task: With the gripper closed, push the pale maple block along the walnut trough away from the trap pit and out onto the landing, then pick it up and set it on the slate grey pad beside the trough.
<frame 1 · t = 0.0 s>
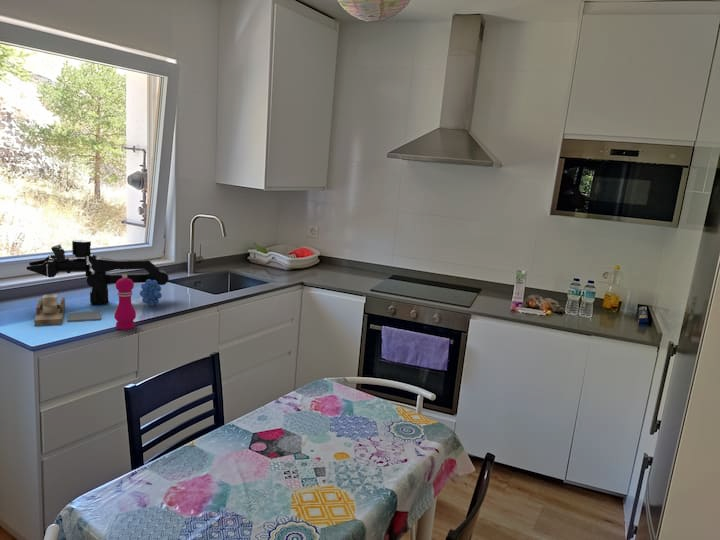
hand: (28, 265, 205), 17 cm above the table, tool horizontal, fingers open, 9 cm apart
pepper mill: (125, 327, 190), on the table
walnut trough: (51, 315, 198), on the table
grapes: (152, 307, 220), on the table
slate pad: (84, 317, 199), on the table
maple block: (50, 311, 196), point 2 cm above the table, touching walnut trough
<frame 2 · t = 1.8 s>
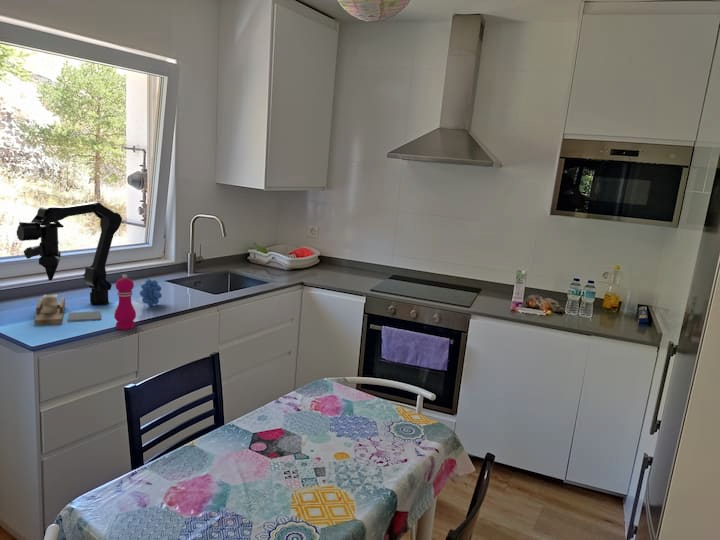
hand: (50, 278, 201), 13 cm above the table, tool pointing down, fingers open, 5 cm apart
nothing on the table moved.
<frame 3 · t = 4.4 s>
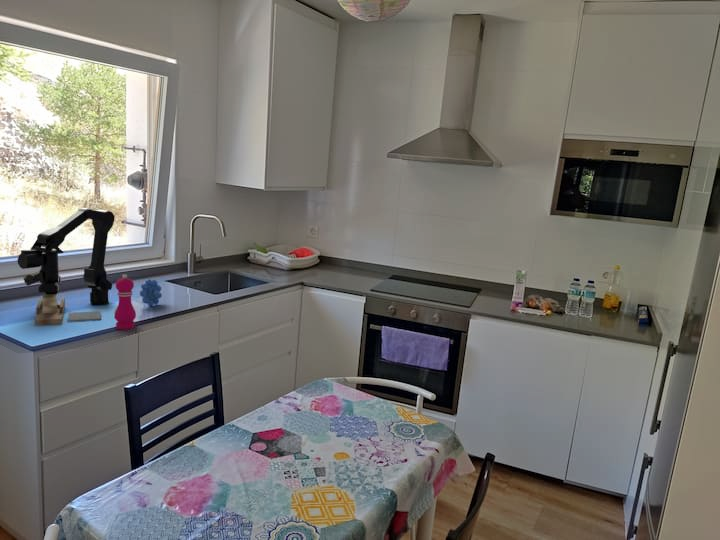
hand: (51, 305, 200), 3 cm above the table, tool pointing down, fingers closed
maple block: (50, 310, 196), point 2 cm above the table, touching gripper, walnut trough
everything else where it was.
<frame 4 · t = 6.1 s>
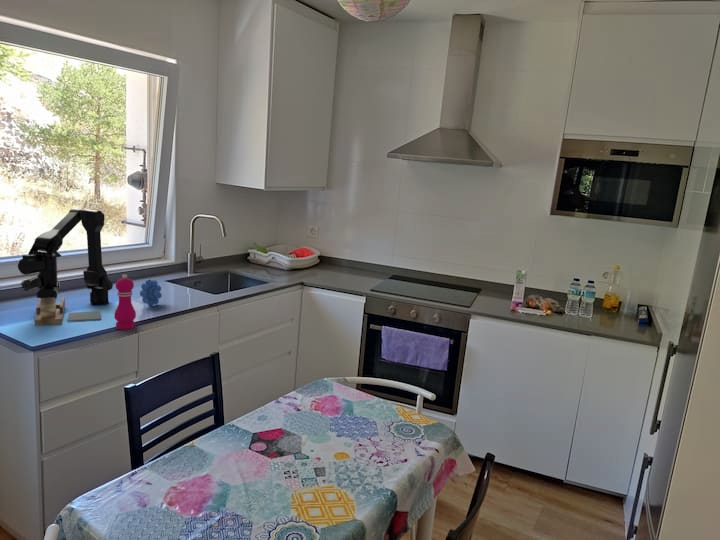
hand: (49, 310, 193), 3 cm above the table, tool pointing down, fingers closed
maple block: (48, 313, 191), point 3 cm above the table, tilted 27°, touching gripper, walnut trough
everything else where it was.
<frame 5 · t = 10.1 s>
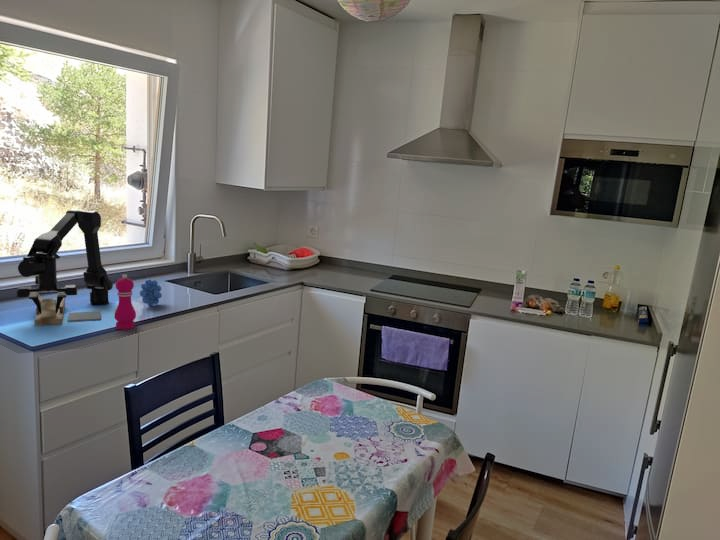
hand: (48, 313, 190), 3 cm above the table, tool pointing down, fingers closed on maple block, 4 cm apart
maple block: (49, 315, 191), point 2 cm above the table, touching gripper, walnut trough
everything else where it was.
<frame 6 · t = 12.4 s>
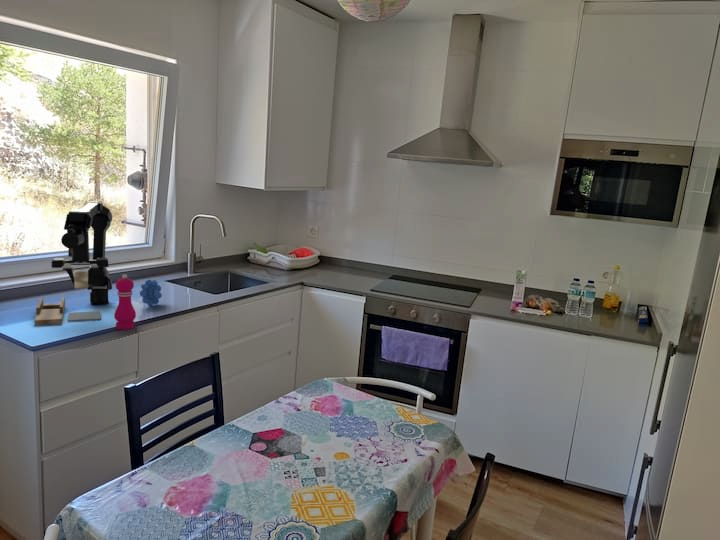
hand: (81, 284, 196), 13 cm above the table, tool pointing down, fingers closed on maple block, 4 cm apart
maple block: (81, 286, 197), point 12 cm above the table, touching gripper
everything else where it was.
when the fingers open (3 cm above the table, at t = 14.7 s): maple block drops 1 cm, resting on slate pad.
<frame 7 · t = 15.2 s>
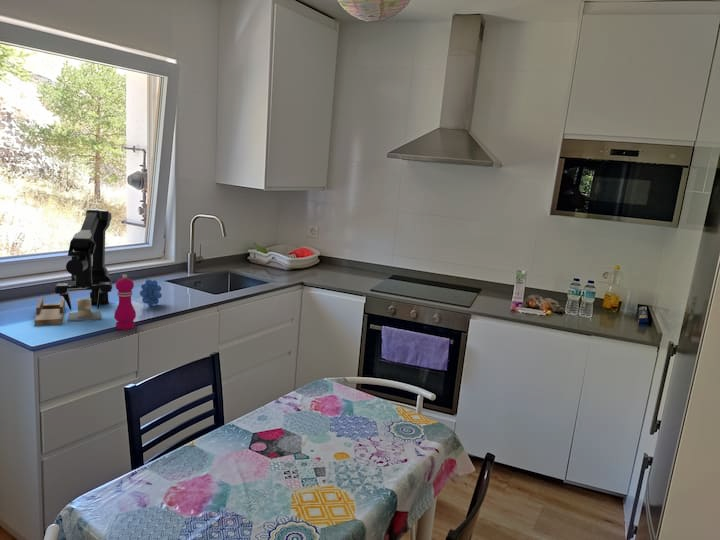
hand: (84, 309, 198), 3 cm above the table, tool pointing down, fingers open, 9 cm apart
maple block: (84, 314, 199), point 1 cm above the table, touching slate pad
everything else where it was.
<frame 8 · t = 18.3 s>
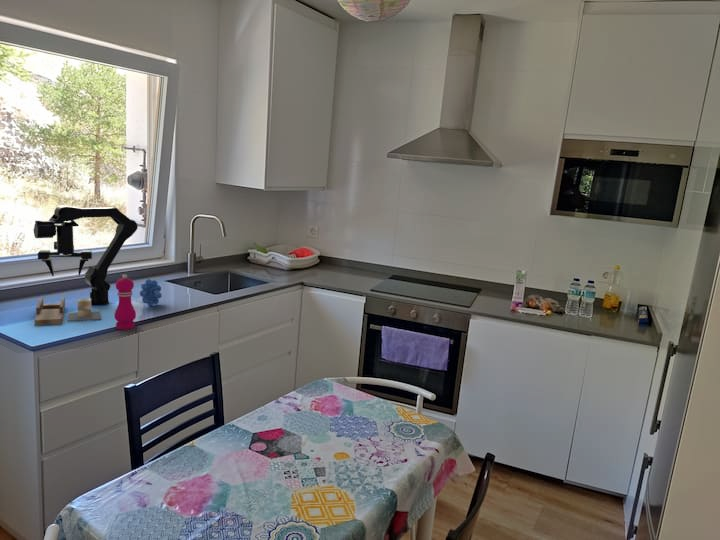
hand: (66, 275, 208), 13 cm above the table, tool pointing down, fingers open, 9 cm apart
nothing on the table moved.
at the end: maple block inside the target area on the slate pad (0.9 cm from its centre), point 0.6 cm above the slate pad's base; maple block tilted 0°; the gripper is holding nothing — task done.
